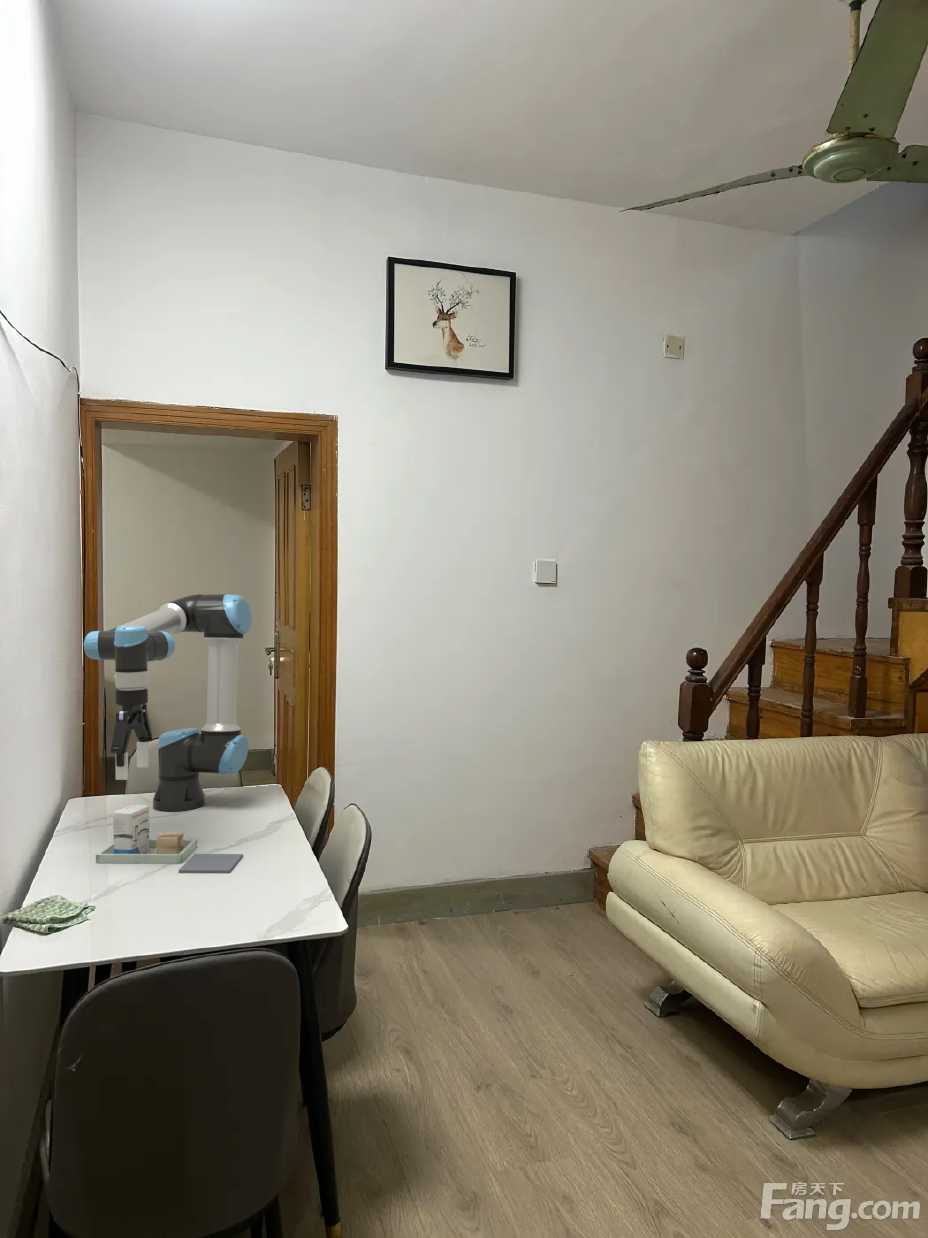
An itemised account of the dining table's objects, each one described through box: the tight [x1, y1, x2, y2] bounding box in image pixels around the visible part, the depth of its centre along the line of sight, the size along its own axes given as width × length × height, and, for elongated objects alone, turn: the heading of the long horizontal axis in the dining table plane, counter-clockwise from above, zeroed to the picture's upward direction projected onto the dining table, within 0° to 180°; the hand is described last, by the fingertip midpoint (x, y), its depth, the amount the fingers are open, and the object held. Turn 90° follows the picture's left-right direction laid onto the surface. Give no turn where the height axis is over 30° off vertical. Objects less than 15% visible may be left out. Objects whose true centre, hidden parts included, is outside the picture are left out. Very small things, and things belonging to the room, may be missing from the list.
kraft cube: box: [155, 832, 184, 854], centre depth 209 cm, size 5×5×5 cm
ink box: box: [112, 803, 150, 854], centre depth 209 cm, size 9×5×12 cm, turn 168°
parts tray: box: [95, 838, 198, 864], centre depth 209 cm, size 13×21×2 cm, turn 90°
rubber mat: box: [178, 853, 244, 874], centre depth 202 cm, size 12×12×1 cm
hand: (132, 773), depth 208 cm, fingers open, 13 cm apart
